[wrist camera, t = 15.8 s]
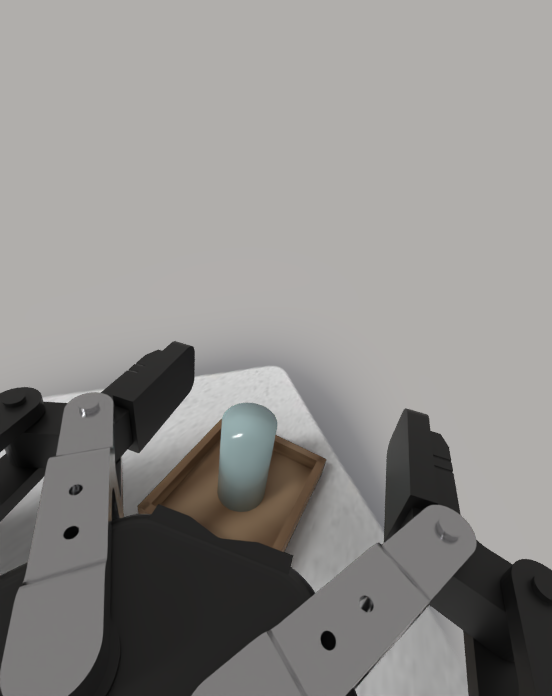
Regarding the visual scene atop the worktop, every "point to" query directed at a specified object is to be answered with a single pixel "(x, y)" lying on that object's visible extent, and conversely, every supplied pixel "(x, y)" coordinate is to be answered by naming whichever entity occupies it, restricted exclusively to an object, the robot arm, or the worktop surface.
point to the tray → (255, 525)
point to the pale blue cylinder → (245, 455)
